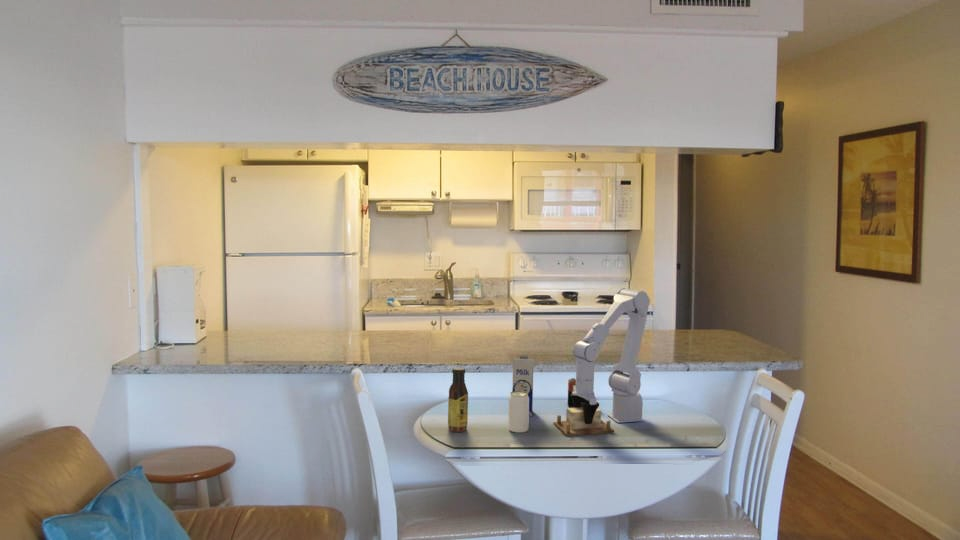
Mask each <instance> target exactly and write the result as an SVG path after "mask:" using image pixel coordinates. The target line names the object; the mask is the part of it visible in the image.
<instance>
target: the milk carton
mask: <svg viewBox="0 0 960 540" xmlns="http://www.w3.org/2000/svg"><path fill="white" fill-rule="evenodd" d="M534 365H535V359H531V358H530V359H529V358H528V356H527V355H526V356H525V355H520V356H519V358H512V389H511V390H512V391H525V392H527V393H528V397H529V416H530V417H531V418H532V417H533V408H534V407H533V401H534V400H533V399H534V397H533V396H534ZM512 391H511V392H512ZM530 417H529V418H530Z"/></svg>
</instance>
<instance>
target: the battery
mask: <svg viewBox="0 0 960 540" xmlns="http://www.w3.org/2000/svg"><path fill="white" fill-rule="evenodd" d="M573 386H576V377H575V378H574V377H572V378H570V379H568V381H567V406H568V408H574V405H573V401H572V399H571V397H570V394H572V392H573ZM585 402H587V400H585Z"/></svg>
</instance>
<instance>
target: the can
mask: <svg viewBox="0 0 960 540" xmlns="http://www.w3.org/2000/svg"><path fill="white" fill-rule="evenodd" d="M529 419H530V417H529V397H528V393H527V392H525V391H511V392H510V394H509V397H508V423H507V425H508V428H507V429H508V430H509V432H512V433H514V432H515V434H521V433H522V434H523V433H526V432H528V431H529V428H530V427H529V424H530V423H529V421H530V420H529Z"/></svg>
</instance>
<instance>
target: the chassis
mask: <svg viewBox="0 0 960 540" xmlns="http://www.w3.org/2000/svg"><path fill="white" fill-rule="evenodd" d="M556 417H557V418H556V421H553V423H552V424H553V426H555V428H557V429H558V430H559V431H560V432H561V433H562V434H563V436H565V437H575V436H586V435H600V434H613V433H612V432H614V433H615V429H614V428H612V427H611V420H606V422H605V421H603V420H602V419H601V425H600V427H597V428H584V429H570V424H566V420H563V421H562V415H560V414H558V415H557V416H556Z"/></svg>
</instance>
